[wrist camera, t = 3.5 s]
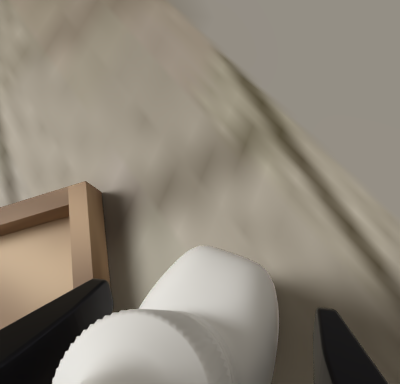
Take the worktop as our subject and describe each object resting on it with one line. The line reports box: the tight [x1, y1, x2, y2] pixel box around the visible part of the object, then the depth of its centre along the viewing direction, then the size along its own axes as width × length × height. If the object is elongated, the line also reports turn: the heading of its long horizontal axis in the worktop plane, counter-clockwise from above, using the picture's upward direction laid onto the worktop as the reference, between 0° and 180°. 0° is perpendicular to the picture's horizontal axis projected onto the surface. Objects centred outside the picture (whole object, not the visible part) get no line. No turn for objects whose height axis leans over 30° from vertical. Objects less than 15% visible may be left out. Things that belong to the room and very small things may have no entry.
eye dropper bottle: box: [52, 246, 279, 384], centre depth 8 cm, size 4×6×12 cm
